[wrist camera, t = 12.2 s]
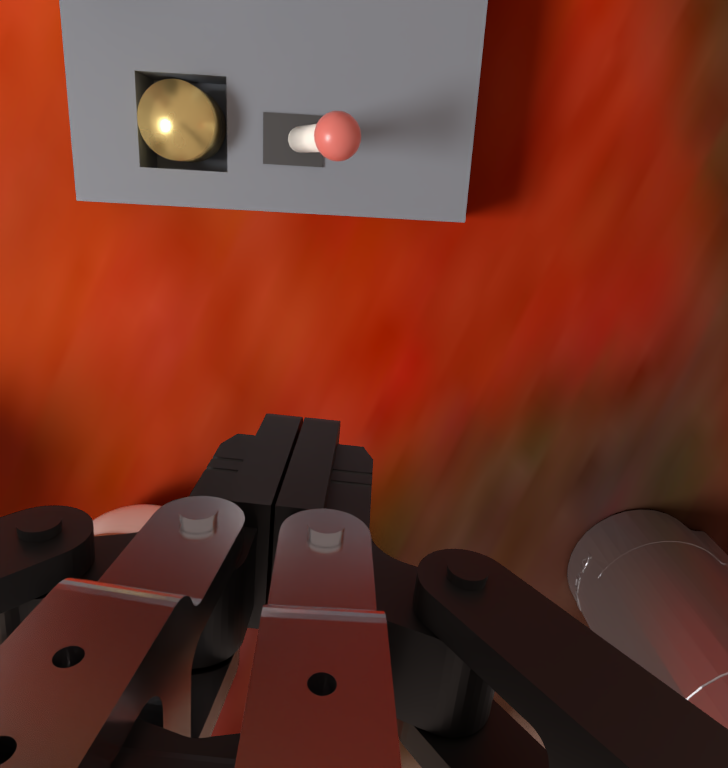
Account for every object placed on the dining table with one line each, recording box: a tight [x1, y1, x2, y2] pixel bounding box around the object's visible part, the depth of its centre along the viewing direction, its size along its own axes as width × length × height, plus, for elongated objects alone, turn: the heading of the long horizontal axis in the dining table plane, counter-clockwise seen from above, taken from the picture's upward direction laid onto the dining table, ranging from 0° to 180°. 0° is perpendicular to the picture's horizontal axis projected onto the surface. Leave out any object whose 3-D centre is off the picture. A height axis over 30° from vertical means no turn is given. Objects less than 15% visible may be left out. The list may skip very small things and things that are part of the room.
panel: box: [59, 0, 488, 222], centre depth 31 cm, size 20×16×4 cm
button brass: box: [137, 79, 226, 162], centre depth 31 cm, size 4×4×3 cm
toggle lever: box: [288, 111, 361, 161], centre depth 28 cm, size 2×2×6 cm
